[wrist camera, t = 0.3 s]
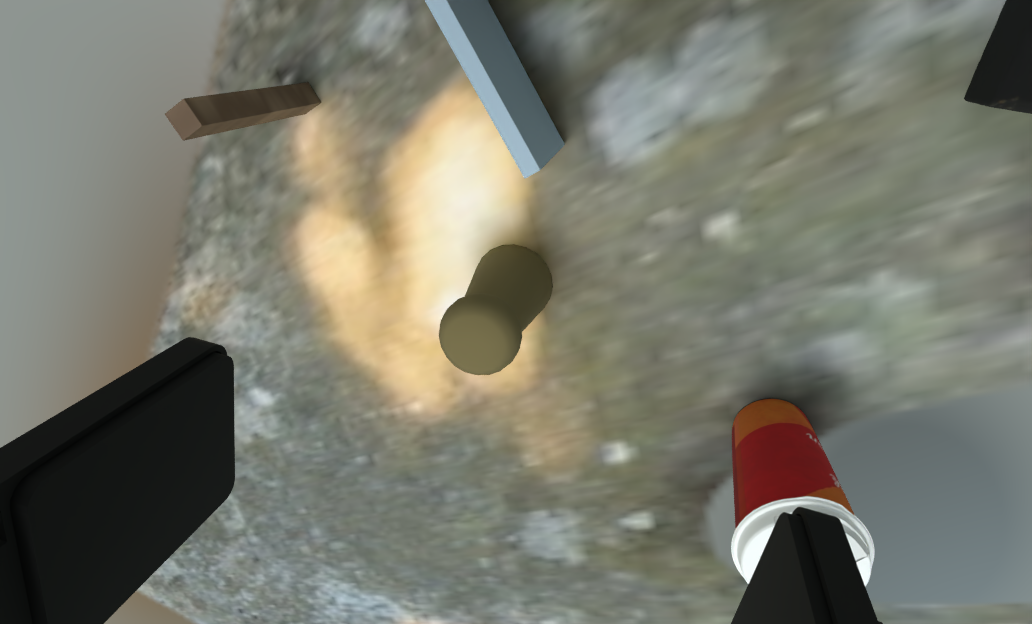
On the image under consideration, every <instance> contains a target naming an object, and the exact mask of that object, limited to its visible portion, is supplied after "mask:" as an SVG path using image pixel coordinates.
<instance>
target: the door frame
mask: <svg viewBox="0 0 1032 624" xmlns="http://www.w3.org/2000/svg"><path fill="white" fill-rule="evenodd" d="M320 103H321V102H320V100H319V99H318V97H317V95H316V94H315V92H314V91H313V89H312V87H311V86H310V84H309V83H308V82H307V83H299V84H292V85H284V86H276V87H269V88H261V89H254V90H246V91H239V92H231V93H223V94H216V95H208V96H201V97H193V98H186V99H183V100H182V101H180V102H179V103H178V104H177V105H176V106H174V107H173V108H172V109H170V110H169V111H168V112H167V113H165V115H166V116H167V118H168V119H169V121H170V122H171V124H172V125H173V127H174V128H175V130H176V131H177V132H178V134H179V135H180V136H181V138H182V140H188V139H193V138H197V137H202V136H206V135H211V134H216V133H220V132H225V131H229V130H234V129H239V128H243V127H248V126H252V125H257V124H262V123H266V122H271V121H275V120H280V119H285V118H289V117H294V116H298V115H303V114H306V113H307V112H309V111H310V110H312V109H313V108H314V107H316V106H317V105H319V104H320Z"/></svg>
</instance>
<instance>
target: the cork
mask: <svg viewBox="0 0 1032 624" xmlns="http://www.w3.org/2000/svg"><path fill="white" fill-rule="evenodd" d="M552 287H553V286H552V277H551V273H550V271H549V269H548V267H547V265H546V263H545V262H544V261H543V260H542V259H541V258H540V257H539V255H538V254H536V253H534V252H533V251H531V250H529V249H528V248H526V247H521V246H517V245H502V246H499V247H497V248H494V249H492V250H490V251H489V252H488V253H487V254H486V255H485V256H483V257H482V259H481V261H480V262H479V264H478V266H477V268H476V270H475V273H474V275H473V278H472V280H471V283H470V285H469V287H468V290H467V292H466V295H465V297H462V298H460V299H458V300H457V301H456V302H454V303H453V304H452V305H451V306H450V307H449V308H448V309H447V310H446V312H445V314H444V316H443V318H442V320H441V324H440V330H439V339H440V344H441V347H442V349H443V351H444V353H445V355H446V357H447V358H448V359H449V360H450V361H451V362H452V363H453V365H454V366H456V367H457V368H459V369H461V370H462V371H464V372H467V373H471V374H474V375H490V374H493V373H496V372H499V371H501V370H502V369H503V368H505V367H506V366H507V365H508V364H510V363H511V362H512V361H513V359H514V358H515V356H516V355H517V353H518V351H519V349H520V344H521V339H522V331H523V330H524V329H525V328H526V327H527V326H528V325H529V324H530V323H531V322H532V320H533V319H534V318H535V317H536V316H537V315H538V314H539V313H540V312H541V311H542V310H543V308H544V307H545V306H546V304H547V302H548V301H549V299H550V296H551V292H552Z"/></svg>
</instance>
